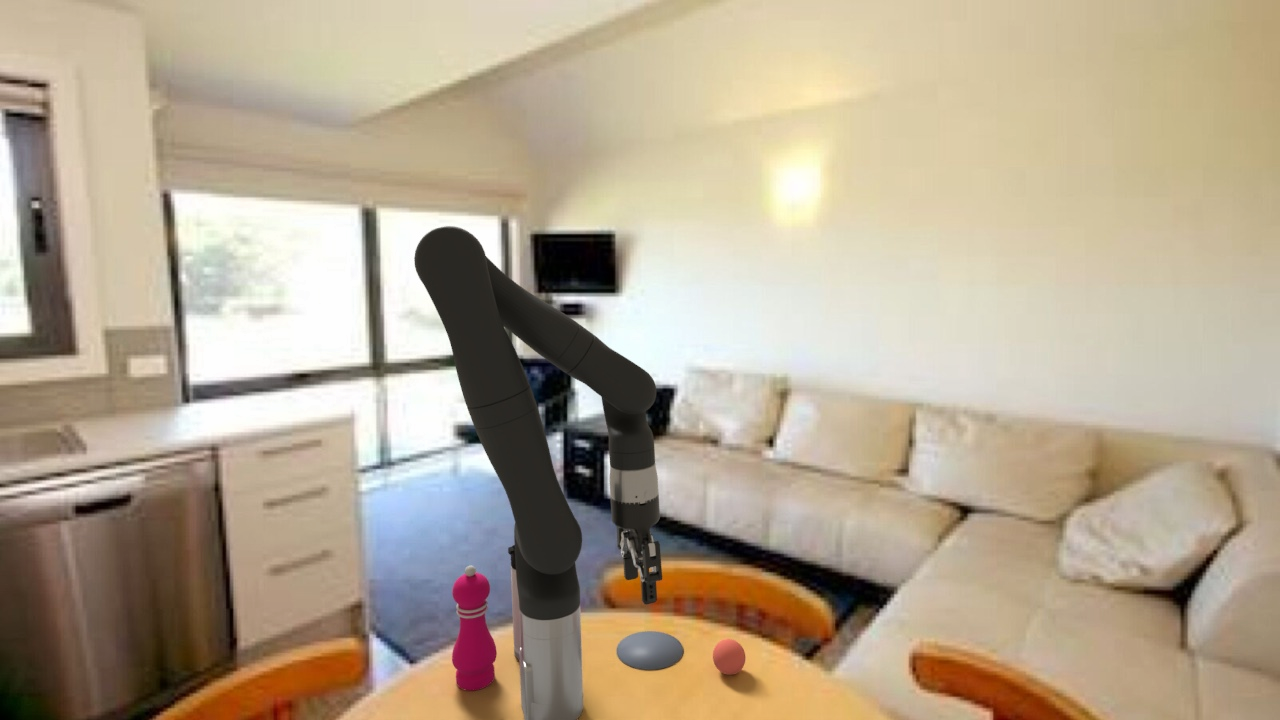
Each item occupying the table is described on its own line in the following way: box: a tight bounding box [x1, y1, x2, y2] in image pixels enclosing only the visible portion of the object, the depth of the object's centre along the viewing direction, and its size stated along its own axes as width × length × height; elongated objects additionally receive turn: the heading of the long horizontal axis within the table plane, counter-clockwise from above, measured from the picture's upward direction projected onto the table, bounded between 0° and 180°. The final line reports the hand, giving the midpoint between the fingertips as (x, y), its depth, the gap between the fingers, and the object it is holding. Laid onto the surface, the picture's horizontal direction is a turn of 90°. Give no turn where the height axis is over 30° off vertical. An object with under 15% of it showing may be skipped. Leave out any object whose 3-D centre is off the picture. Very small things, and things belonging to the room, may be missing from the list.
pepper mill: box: [451, 565, 497, 692], centre depth 107 cm, size 7×7×20 cm
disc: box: [615, 630, 684, 671], centre depth 117 cm, size 12×12×1 cm
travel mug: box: [507, 544, 521, 660], centre depth 115 cm, size 6×7×20 cm
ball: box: [712, 638, 746, 676], centre depth 109 cm, size 6×6×6 cm
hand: (640, 590), depth 103 cm, fingers open, 8 cm apart
